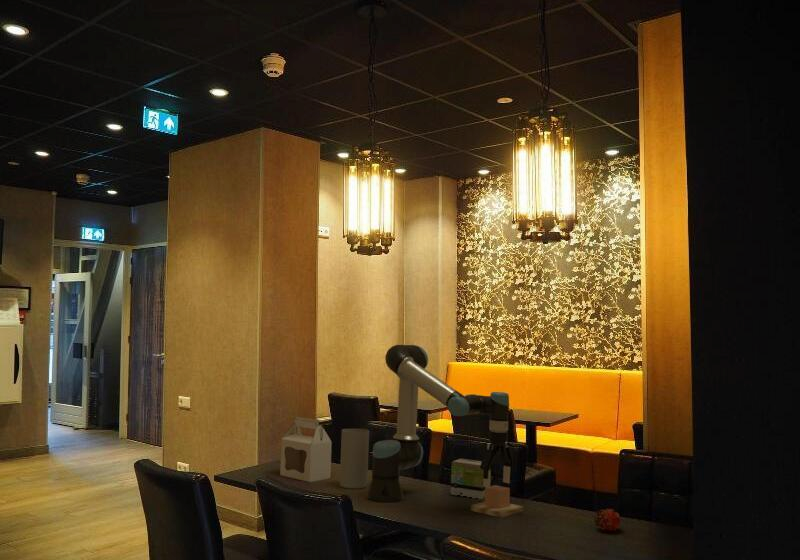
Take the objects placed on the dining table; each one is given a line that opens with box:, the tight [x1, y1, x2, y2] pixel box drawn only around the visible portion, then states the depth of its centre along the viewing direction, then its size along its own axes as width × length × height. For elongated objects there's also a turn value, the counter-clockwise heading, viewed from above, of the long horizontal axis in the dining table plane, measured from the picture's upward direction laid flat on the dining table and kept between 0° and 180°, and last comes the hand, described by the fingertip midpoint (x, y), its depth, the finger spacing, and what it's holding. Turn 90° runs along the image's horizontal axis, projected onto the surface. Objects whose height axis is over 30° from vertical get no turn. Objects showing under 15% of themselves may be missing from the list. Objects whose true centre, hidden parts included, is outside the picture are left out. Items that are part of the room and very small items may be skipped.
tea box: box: [450, 458, 492, 500], centre depth 295 cm, size 15×10×15 cm, turn 62°
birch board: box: [470, 501, 525, 519], centre depth 268 cm, size 15×15×2 cm
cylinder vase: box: [339, 428, 370, 490], centre depth 307 cm, size 12×12×25 cm
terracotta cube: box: [484, 484, 511, 509], centre depth 268 cm, size 7×7×7 cm
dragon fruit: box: [594, 508, 622, 533], centre depth 244 cm, size 8×8×12 cm
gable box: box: [279, 416, 333, 483], centre depth 325 cm, size 22×13×28 cm, turn 49°
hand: (496, 484), depth 269 cm, fingers open, 13 cm apart
